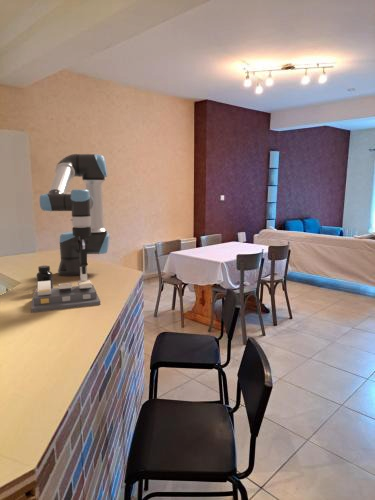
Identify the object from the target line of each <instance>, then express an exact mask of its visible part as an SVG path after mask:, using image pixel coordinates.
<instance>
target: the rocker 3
mask: <svg viewBox="0 0 375 500" xmlns="http://www.w3.org/2000/svg"><path fill="white" fill-rule="evenodd" d="M92 285H93V283H92V282H91V280H90V279H87V281H81V280H77V286H79V288H91V287H92Z"/></svg>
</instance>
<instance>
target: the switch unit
mask: <svg viewBox="0 0 375 500" xmlns="http://www.w3.org/2000/svg"><path fill="white" fill-rule="evenodd" d="M96 290H97V289H96V288H95V286H94V284H92V287H91V288H79V286H78V285H77V286H74V285H72V288H65V289H59V287H53V288H52V289H51V294H49V295H39V296H38V292H37V291H38V290H37V289H34V293H33V296H32V298H31V304H30V305H31V306H30V312H31V313H37V312H38V313H39V312H47V311H48V312H49V311H56V310H64V309H75V308H81V307H91V306H92V307H93V306H101V299H100V298H99V295H98V293H97V291H96Z"/></svg>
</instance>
